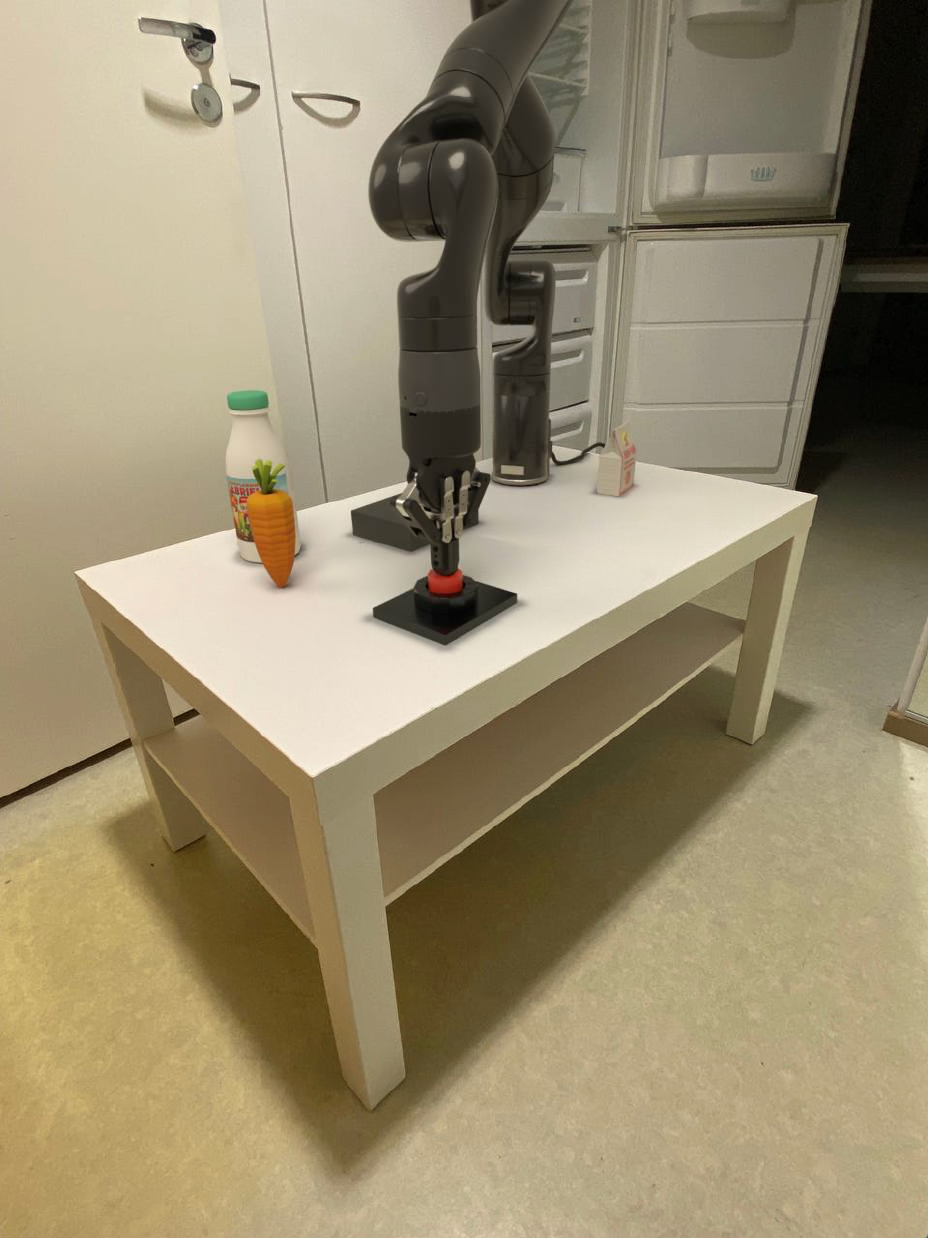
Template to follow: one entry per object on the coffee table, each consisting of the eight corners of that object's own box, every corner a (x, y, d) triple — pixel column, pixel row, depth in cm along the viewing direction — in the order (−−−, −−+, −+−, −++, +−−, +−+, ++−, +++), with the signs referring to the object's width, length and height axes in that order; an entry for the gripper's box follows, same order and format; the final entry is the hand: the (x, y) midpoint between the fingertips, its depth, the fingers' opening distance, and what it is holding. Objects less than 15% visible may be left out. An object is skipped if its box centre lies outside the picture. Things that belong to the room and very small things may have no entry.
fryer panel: (421, 508, 106) (420, 485, 104) (478, 523, 99) (478, 498, 98) (352, 534, 96) (350, 509, 95) (411, 552, 90) (409, 525, 88)
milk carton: (596, 493, 111) (601, 429, 107) (611, 482, 116) (616, 421, 112) (618, 496, 110) (624, 431, 105) (633, 485, 115) (639, 423, 110)
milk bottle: (250, 542, 94) (225, 387, 85) (307, 542, 94) (288, 386, 85) (231, 564, 87) (201, 398, 78) (293, 564, 87) (270, 397, 78)
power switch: (447, 580, 82) (446, 556, 80) (517, 603, 76) (517, 578, 75) (373, 618, 74) (370, 592, 72) (445, 646, 68) (444, 618, 66)
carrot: (263, 580, 83) (243, 453, 76) (306, 578, 83) (289, 451, 76) (256, 597, 78) (233, 465, 72) (300, 595, 79) (283, 463, 72)
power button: (443, 578, 76) (443, 563, 75) (469, 586, 74) (469, 571, 73) (421, 589, 73) (420, 574, 73) (447, 598, 71) (447, 582, 71)
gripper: (454, 386, 72) (458, 546, 79) (359, 406, 62) (374, 584, 70) (514, 393, 67) (512, 561, 75) (421, 415, 58) (430, 604, 66)
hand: (445, 572), depth 73 cm, fingers closed
